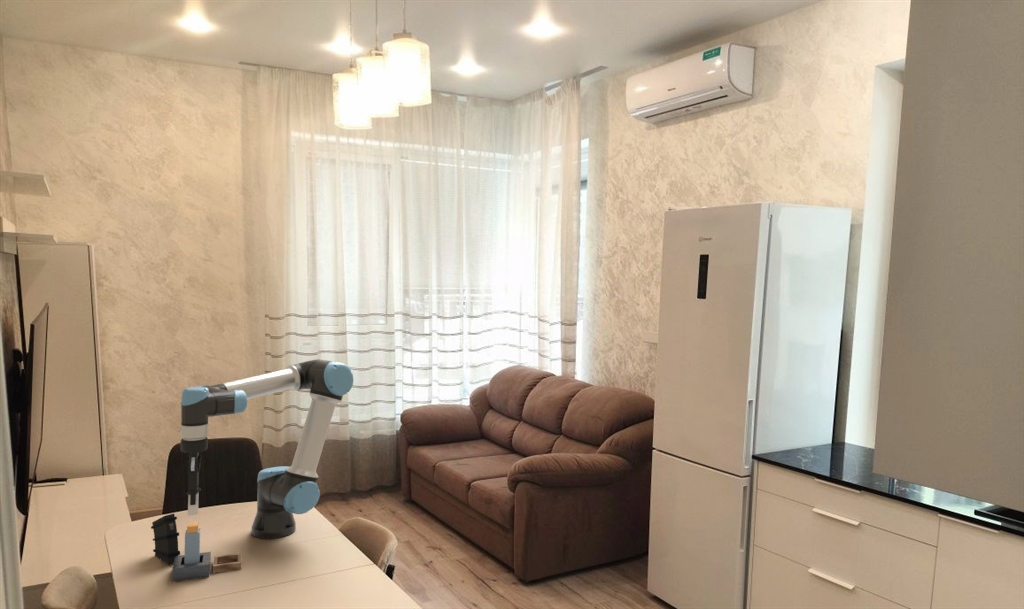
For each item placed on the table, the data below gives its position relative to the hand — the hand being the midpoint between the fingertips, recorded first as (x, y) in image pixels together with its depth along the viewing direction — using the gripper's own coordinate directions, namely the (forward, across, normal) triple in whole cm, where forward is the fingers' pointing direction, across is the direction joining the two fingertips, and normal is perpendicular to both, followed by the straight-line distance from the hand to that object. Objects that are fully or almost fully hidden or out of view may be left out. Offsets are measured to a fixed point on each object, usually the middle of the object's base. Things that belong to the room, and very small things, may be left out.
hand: (193, 513), depth 197 cm
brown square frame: (+18, -2, +10) cm, 21 cm away
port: (+18, 0, 0) cm, 18 cm away
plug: (+18, 0, 0) cm, 18 cm away
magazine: (+19, -15, -9) cm, 25 cm away
